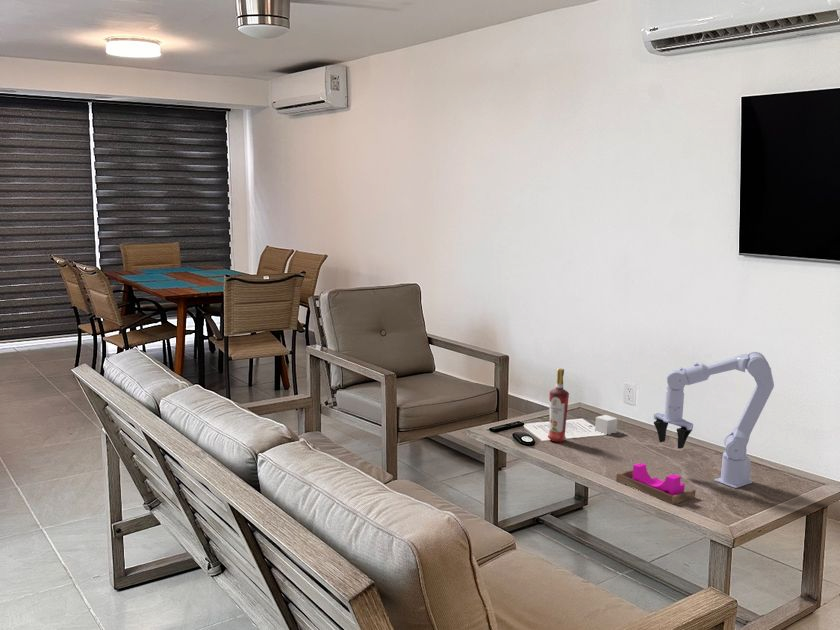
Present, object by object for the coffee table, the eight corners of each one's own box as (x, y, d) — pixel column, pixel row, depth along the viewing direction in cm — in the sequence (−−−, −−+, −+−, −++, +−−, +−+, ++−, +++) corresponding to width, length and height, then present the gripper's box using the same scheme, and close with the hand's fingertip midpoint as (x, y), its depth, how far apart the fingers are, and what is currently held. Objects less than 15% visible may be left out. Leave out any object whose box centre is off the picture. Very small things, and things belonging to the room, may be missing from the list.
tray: (638, 475, 259) (638, 468, 259) (695, 497, 241) (695, 490, 240) (616, 481, 253) (616, 473, 253) (672, 504, 235) (673, 497, 234)
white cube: (616, 433, 306) (617, 418, 305) (606, 435, 302) (607, 420, 301) (604, 429, 310) (605, 414, 309) (594, 431, 307) (595, 416, 306)
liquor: (544, 441, 293) (547, 369, 288) (550, 436, 299) (554, 366, 294) (562, 444, 289) (566, 372, 285) (569, 439, 295) (572, 368, 291)
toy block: (683, 497, 241) (685, 475, 240) (671, 502, 237) (673, 479, 236) (643, 483, 253) (645, 461, 251) (631, 487, 249) (633, 465, 248)
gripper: (649, 402, 261) (646, 440, 263) (684, 412, 249) (681, 453, 251) (662, 399, 265) (659, 437, 267) (698, 410, 253) (695, 449, 255)
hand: (671, 444), depth 259 cm, fingers open, 7 cm apart
